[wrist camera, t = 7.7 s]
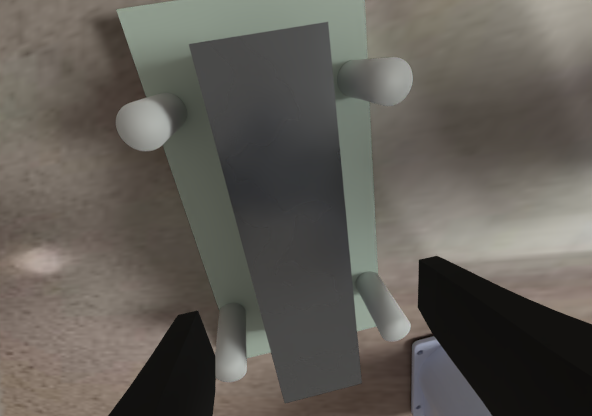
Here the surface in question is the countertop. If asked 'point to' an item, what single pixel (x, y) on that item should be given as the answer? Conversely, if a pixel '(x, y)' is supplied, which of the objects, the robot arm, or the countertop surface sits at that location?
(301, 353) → the steel bar
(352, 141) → the peg rack
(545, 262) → the countertop surface
